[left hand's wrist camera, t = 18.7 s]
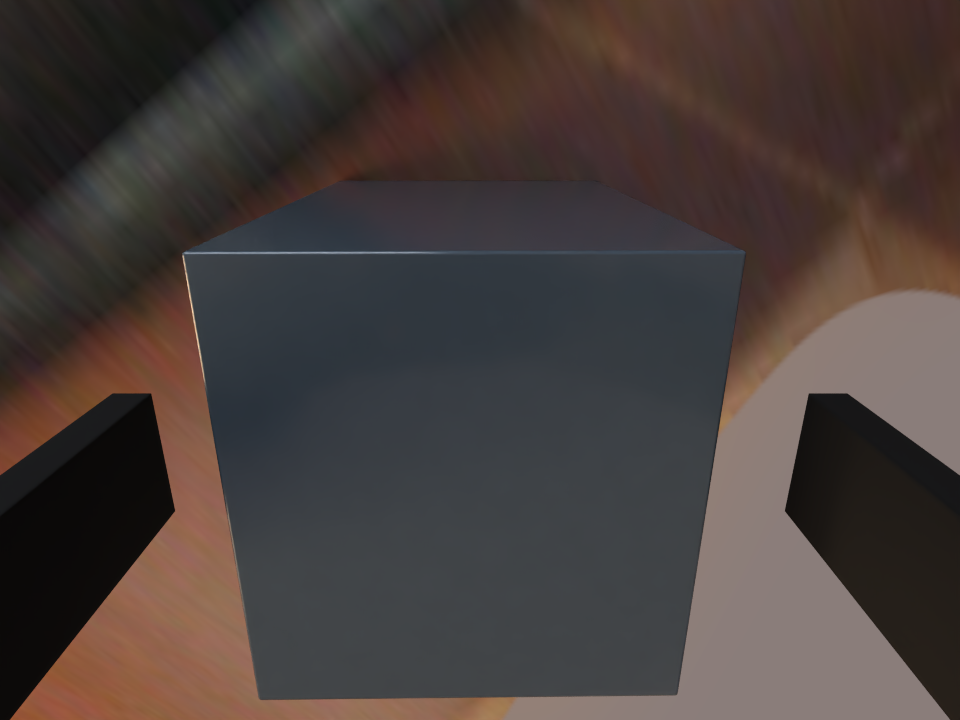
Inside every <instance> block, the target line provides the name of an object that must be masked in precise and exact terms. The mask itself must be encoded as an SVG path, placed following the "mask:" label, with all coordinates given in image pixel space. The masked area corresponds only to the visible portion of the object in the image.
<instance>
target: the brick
mask: <svg viewBox="0 0 960 720" xmlns="http://www.w3.org/2000/svg"><path fill="white" fill-rule="evenodd" d="M182 257H183V263H184V269H185V274H186V280H187V286H188V292H189V297H190V303H191V309H192V315H193V321H194V326H195V332H196V338H197V344H198V350H199V355H200V361H201V367H202V373H203V378H204V384H205V390H206V396H207V402H208V407H209V413H210V419H211V425H212V431H213V436H214V442H215V448H216V454H217V459H218V465H219V471H220V477H221V483H222V488H223V494H224V500H225V506H226V512H227V517H228V523H229V529H230V535H231V540H232V546H233V552H234V558H235V564H236V569H237V575H238V581H239V587H240V593H241V598H242V604H243V610H244V616H245V621H246V627H247V633H248V639H249V645H250V650H251V656H252V662H253V668H254V674H255V679H256V685H257V691H258V697H259V699H260V700H302V699H392V698H482V697H567V696H568V697H572V696H661V695H677V693H678V687H679V680H680V674H681V668H682V661H683V655H684V648H685V642H686V635H687V629H688V623H689V616H690V610H691V603H692V597H693V591H694V584H695V578H696V571H697V565H698V559H699V552H700V546H701V539H702V533H703V526H704V520H705V514H706V507H707V501H708V494H709V488H710V482H711V475H712V469H713V462H714V456H715V449H716V443H717V437H718V430H719V424H720V417H721V411H722V405H723V398H724V392H725V385H726V379H727V372H728V366H729V360H730V353H731V347H732V340H733V334H734V328H735V321H736V315H737V308H738V302H739V295H740V289H741V283H742V276H743V270H744V263H745V257H746V252H745V251H744V250H741V249H739V248H737V247H735V246H733V245H731V244H729V243H727V242H724V241H722V240H720V239H718V238H716V237H714V236H712V235H710V234H708V233H705V232H703V231H701V230H699V229H697V228H695V227H693V226H691V225H689V224H686V223H684V222H682V221H680V220H678V219H676V218H674V217H672V216H670V215H667V214H665V213H663V212H661V211H659V210H657V209H655V208H653V207H651V206H648V205H646V204H644V203H642V202H640V201H638V200H636V199H634V198H632V197H629V196H627V195H625V194H623V193H621V192H619V191H617V190H615V189H613V188H610V187H608V186H606V185H604V184H602V183H600V182H598V181H339V182H337V183H334V184H332V185H330V186H328V187H326V188H323V189H321V190H319V191H317V192H315V193H312V194H310V195H308V196H306V197H304V198H301V199H299V200H297V201H295V202H293V203H290V204H288V205H286V206H284V207H282V208H279V209H277V210H275V211H273V212H271V213H268V214H266V215H264V216H262V217H260V218H257V219H255V220H253V221H251V222H249V223H246V224H244V225H242V226H240V227H238V228H235V229H233V230H231V231H229V232H227V233H224V234H222V235H220V236H218V237H216V238H213V239H211V240H209V241H207V242H205V243H202V244H200V245H198V246H196V247H194V248H191V249H189V250H187V251H185V252H183V254H182Z"/></svg>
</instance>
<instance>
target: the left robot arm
mask: <svg viewBox="0 0 960 720" xmlns="http://www.w3.org/2000/svg"><path fill="white" fill-rule="evenodd" d="M174 512H175V508H174V503H173V498H172V493H171V488H170V484H169V479H168V474H167V469H166V464H165V459H164V454H163V449H162V444H161V440H160V435H159V430H158V425H157V420H156V415H155V410H154V405H153V400H152V396H151V394H111V395H110V396H109V397H107V398H106V399H105V400H103V401H102V402H100V403H99V404H98V405H96V406H95V407H94V408H92V409H91V410H89V411H88V412H87V413H85V414H84V415H83V416H81V417H80V418H78V419H77V420H76V421H74V422H73V423H72V424H70V425H69V426H67V427H66V428H65V429H63V430H62V431H61V432H59V433H58V434H57V435H55V436H54V437H52V438H51V439H50V440H48V441H47V442H46V443H44V444H43V445H41V446H40V447H39V448H37V449H36V450H35V451H33V452H32V453H30V454H29V455H28V456H26V457H25V458H24V459H22V460H21V461H19V462H18V463H17V464H15V465H14V466H13V467H11V468H10V469H8V470H7V471H6V472H4V473H3V474H2V475H0V720H10V719H11V717H12V716H13V715H14V714H15V712H16V711H17V710H18V709H19V707H20V706H21V705H22V704H23V702H24V701H25V700H26V699H27V697H28V696H29V695H30V694H31V692H32V691H33V690H34V688H35V687H36V686H37V685H38V683H39V682H40V681H41V680H42V678H43V677H44V676H45V675H46V673H47V672H48V671H49V670H50V668H51V667H52V666H53V664H54V663H55V662H56V661H57V659H58V658H59V657H60V656H61V654H62V653H63V652H64V651H65V649H66V648H67V647H68V646H69V644H70V643H71V642H72V640H73V639H74V638H75V637H76V635H77V634H78V633H79V632H80V630H81V629H82V628H83V627H84V625H85V624H86V623H87V622H88V620H89V619H90V618H91V617H92V615H93V614H94V613H95V611H96V610H97V609H98V608H99V606H100V605H101V604H102V603H103V601H104V600H105V599H106V598H107V596H108V595H109V594H110V593H111V591H112V590H113V589H114V587H115V586H116V585H117V584H118V582H119V581H120V580H121V579H122V577H123V576H124V575H125V574H126V572H127V571H128V570H129V569H130V567H131V566H132V565H133V563H134V562H135V561H136V560H137V558H138V557H139V556H140V555H141V553H142V552H143V551H144V550H145V548H146V547H147V546H148V545H149V543H150V542H151V541H152V539H153V538H154V537H155V536H156V534H157V533H158V532H159V531H160V529H161V528H162V527H163V526H164V524H165V523H166V522H167V521H168V519H169V518H170V517H171V516H172V514H173V513H174ZM785 512H786V513H787V514H788V516H789V517H790V518H791V519H792V521H793V522H794V523H795V524H796V526H797V527H798V528H799V529H800V531H801V532H802V533H803V534H804V536H805V537H806V538H807V539H808V541H809V542H810V543H811V544H812V546H813V547H814V548H815V550H816V551H817V552H818V553H819V555H820V556H821V557H822V558H823V560H824V561H825V562H826V563H827V565H828V566H829V567H830V568H831V570H832V571H833V572H834V574H835V575H836V576H837V577H838V579H839V580H840V581H841V582H842V584H843V585H844V586H845V587H846V589H847V590H848V591H849V593H850V594H851V595H852V596H853V598H854V599H855V600H856V601H857V603H858V604H859V605H860V606H861V608H862V609H863V610H864V611H865V613H866V614H867V615H868V617H869V618H870V619H871V620H872V621H873V623H874V624H875V625H876V627H877V628H878V629H879V630H880V632H881V633H882V634H883V635H884V637H885V638H886V639H887V640H888V642H889V643H890V644H891V646H892V647H893V648H894V649H895V651H896V652H897V653H898V654H899V656H900V657H901V658H902V659H903V661H904V662H905V663H906V664H907V666H908V667H909V668H910V670H911V671H912V672H913V673H914V675H915V676H916V677H917V678H918V680H919V681H920V682H921V683H922V685H923V686H924V687H925V688H926V690H927V691H928V692H929V694H930V695H931V696H932V697H933V699H934V700H935V701H936V702H937V704H938V705H939V706H940V707H941V709H942V710H943V711H944V712H945V714H946V715H947V716H948V717H949V719H950V720H960V475H958V474H957V473H956V472H954V471H953V470H952V469H950V468H949V467H947V466H946V465H945V464H943V463H942V462H941V461H939V460H938V459H936V458H935V457H934V456H932V455H931V454H929V453H928V452H927V451H925V450H924V449H923V448H921V447H920V446H919V445H917V444H916V443H914V442H913V441H912V440H910V439H909V438H908V437H906V436H905V435H903V434H902V433H901V432H899V431H898V430H897V429H895V428H894V427H893V426H891V425H890V424H888V423H887V422H886V421H884V420H883V419H882V418H880V417H879V416H877V415H876V414H875V413H873V412H872V411H871V410H869V409H868V408H866V407H865V406H864V405H862V404H861V403H859V402H858V401H857V400H855V399H854V398H853V397H851V396H850V395H849V394H809V396H808V400H807V405H806V410H805V415H804V420H803V425H802V430H801V435H800V440H799V444H798V449H797V454H796V459H795V464H794V469H793V474H792V479H791V484H790V489H789V493H788V498H787V503H786V508H785Z"/></svg>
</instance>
